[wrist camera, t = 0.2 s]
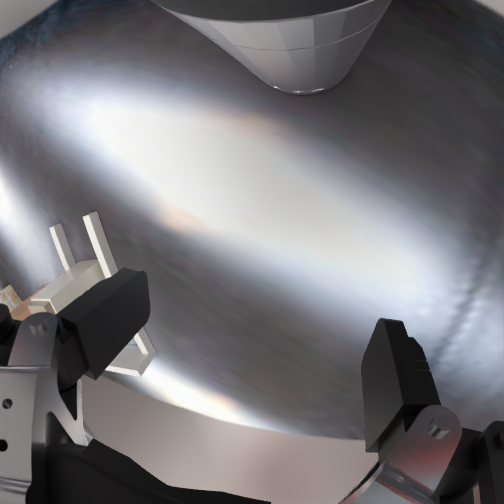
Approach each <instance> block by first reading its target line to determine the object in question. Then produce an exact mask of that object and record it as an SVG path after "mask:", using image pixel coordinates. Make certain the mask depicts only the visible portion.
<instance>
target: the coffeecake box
mask: <svg viewBox="0 0 504 504" xmlns="http://www.w3.org/2000/svg"><path fill="white" fill-rule="evenodd" d="M0 303H2V304H5V305H7V306H8V308H9V310H10V312H12V311H13V310H14V309H15V308H16V307H18V306H19V305H20V304H21V303H23V301H22V300H21V299H20V297H19V296H18V295H17V293H16V292H15V290H14V289H13V287H12V286H11V285H8V286H7V287H6V288H4V289H3V290H2V291H0Z"/></svg>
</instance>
